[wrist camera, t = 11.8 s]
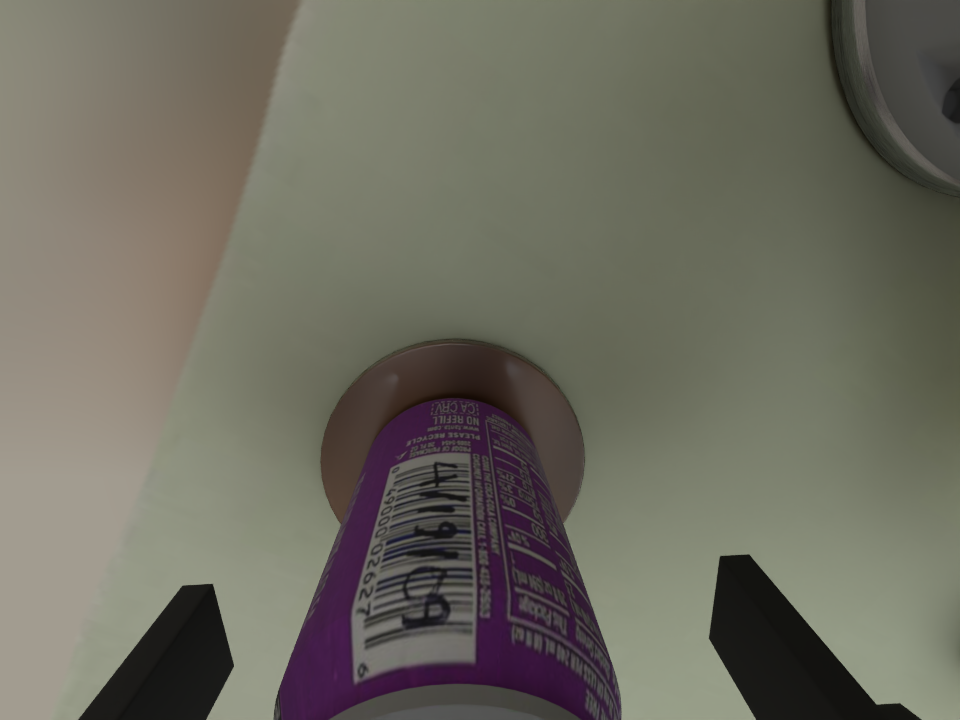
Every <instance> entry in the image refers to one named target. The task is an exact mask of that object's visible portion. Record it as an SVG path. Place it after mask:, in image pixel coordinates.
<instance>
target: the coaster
mask: <svg viewBox="0 0 960 720" xmlns="http://www.w3.org/2000/svg"><path fill="white" fill-rule="evenodd" d="M447 398H460V399H469V400H475V401H479V402H482V403H486V404H488V405H491V406H493V407H495V408H498V409H499V410H501V411H503V412H505V413H506V414H508V415H509V416H511V417H512V418H513V419H514V420H516V421H517V422H518V423H519V424H520V425H521V426H522V427H523V428H524V430H525V431H526V432H527V433H528V435H529V436H530V438H531V439H532V441H533V443H534V445H535V447H536V450H537V452H538V455H539V458H540V461H541V463H542V466H543V469H544V472H545V475H546V478H547V480H548V483H549V486H550V489H551V492H552V495H553V498H554V500H555V503H556V506H557V509H558V512H559V515H560V517H561V520H562V523H564V522H565V520H566V519H567V517H568V515H569V514H570V512H571V510H572V508H573V506H574V504H575V502H576V499H577V497H578V494H579V492H580V488H581V483H582V479H583V474H584V463H585V457H584V444H583V438H582V433H581V429H580V427H579V424H578V421H577V418H576V415H575V414H574V412H573V410H572V408H571V406H570V404H569V402H568V401H567V399H566V397H565V396H564V395H563V393H562V392H561V391H560V389H559V388H558V386H557V385H556V384H555V383H554V382H553V381H552V380H551V379H550V378H549V377H548V376H547V375H546V374H545V373H544V372H543V371H542V370H540V369H539V368H538V367H537V366H535V365H534V364H533V363H532V362H530V361H528V360H526V359H525V358H523V357H521V356H520V355H518V354H516V353H514V352H511V351H509V350H506V349H504V348H502V347H499V346H495V345H491V344H488V343H484V342H478V341H471V340H451V339H446V340H438V341H429V342H425V343H421V344H417V345H413V346H409V347H407V348H404V349H402V350H399V351H397V352H394V353H392V354H390V355H389V356H387V357H385V358H383V359H381V360H379V361H378V362H376V363H375V364H374V365H372V366H371V367H370V368H368V369H367V370H366V371H364V372H363V373H362V374H361V375H360V376H359V377H358V378H357V379H356V380H355V381H354V382H353V383H352V384H351V386H350V387H349V388H348V389H347V391H346V392H345V393H344V395H343V396H342V397H341V399H340V400H339V402H338V404H337V406H336V407H335V409H334V411H333V413H332V414H331V417H330V419H329V422H328V424H327V427H326V430H325V433H324V438H323V443H322V448H321V473H322V480H323V485H324V489H325V493H326V496H327V498H328V501H329V503H330V506H331V508H332V510H333V512H334V514H335V515H336V517H337V519H338V521H339V522H340V523H341V524H342V521H343V518H344V516H345V513H346V511H347V508H348V505H349V503H350V500H351V497H352V495H353V492H354V490H355V487H356V484H357V482H358V479H359V476H360V474H361V471H362V469H363V466H364V463H365V461H366V458H367V455H368V453H369V450H370V448H371V446H372V444H373V442H374V441H375V439H376V437H377V436H378V435H379V433H380V432H381V431H382V430H383V428H384V427H385V426H386V425H387V424H388V423H389V422H390V421H392V420H393V419H394V418H395V417H397V416H398V415H400V414H401V413H403V412H404V411H406V410H408V409H410V408H412V407H414V406H417V405H419V404H422V403H425V402H429V401H433V400H439V399H447Z"/></svg>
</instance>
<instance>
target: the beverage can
mask: <svg viewBox="0 0 960 720" xmlns="http://www.w3.org/2000/svg"><path fill="white" fill-rule="evenodd" d="M274 720H621V698H620V692H619V687H618V682H617V678H616V675H615V671H614V668H613V665H612V662H611V660H610V657H609V654H608V651H607V648H606V645H605V642H604V640H603V637H602V634H601V631H600V628H599V625H598V623H597V620H596V617H595V614H594V611H593V608H592V606H591V603H590V600H589V597H588V594H587V591H586V588H585V586H584V583H583V580H582V577H581V574H580V571H579V569H578V566H577V563H576V560H575V557H574V554H573V552H572V549H571V546H570V543H569V540H568V537H567V534H566V532H565V529H564V526H563V523H562V520H561V517H560V515H559V512H558V509H557V506H556V503H555V500H554V498H553V495H552V492H551V489H550V486H549V483H548V480H547V478H546V475H545V472H544V469H543V466H542V463H541V461H540V458H539V455H538V452H537V450H536V447H535V445H534V443H533V441H532V439H531V438H530V436H529V435H528V433H527V432H526V431H525V430H524V428H523V427H522V426H521V425H520V424H519V423H518V422H517V421H516V420H514V419H513V418H512V417H511V416H509V415H508V414H506V413H505V412H503V411H501V410H499V409H498V408H495V407H493V406H491V405H488V404H486V403H482V402H479V401H475V400H469V399H460V398H447V399H439V400H433V401H429V402H425V403H422V404H419V405H417V406H414V407H412V408H410V409H408V410H406V411H404V412H403V413H401V414H400V415H398V416H397V417H395V418H394V419H393V420H392V421H390V422H389V423H388V424H387V425H386V426H385V427H384V428H383V430H382V431H381V432H380V433H379V435H378V436H377V437H376V439H375V441H374V442H373V444H372V446H371V448H370V450H369V453H368V455H367V458H366V461H365V463H364V466H363V469H362V471H361V474H360V476H359V479H358V482H357V484H356V487H355V490H354V492H353V495H352V497H351V500H350V503H349V505H348V508H347V511H346V513H345V516H344V518H343V521H342V524H341V526H340V529H339V532H338V534H337V537H336V539H335V542H334V545H333V547H332V550H331V553H330V555H329V558H328V560H327V563H326V566H325V568H324V571H323V573H322V576H321V579H320V581H319V584H318V587H317V589H316V592H315V594H314V597H313V600H312V602H311V605H310V608H309V610H308V613H307V615H306V618H305V621H304V623H303V626H302V629H301V631H300V634H299V636H298V639H297V642H296V644H295V647H294V650H293V652H292V655H291V657H290V660H289V663H288V666H287V668H286V671H285V674H284V677H283V680H282V682H281V685H280V688H279V691H278V695H277V698H276V704H275V710H274Z"/></svg>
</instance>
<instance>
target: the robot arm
mask: <svg viewBox="0 0 960 720" xmlns="http://www.w3.org/2000/svg"><path fill="white" fill-rule="evenodd" d="M831 16H832V34H833V44H834V51H835V58H836V64H837V68H838V72H839V76H840V80H841V84H842V87H843V90H844V93H845V96H846V98H847V101H848V104H849V106H850V108H851V111H852V113H853V115H854V117H855V119H856V121H857V123H858V125H859V126H860V128H861V129H862V131H863V132H864V134H865V136H866V137H867V139H868V140H869V141H870V143H871V144H872V145H873V146H874V148H875V149H876V150H877V151H878V152H879V154H880V155H881V156H882V157H883V158H884V159H886V160H887V161H888V162H889V163H890V164H891V165H892V166H893V167H894V168H896V169H897V170H898V171H900V172H901V173H902V174H904V175H905V176H907V177H908V178H910V179H912V180H913V181H915V182H917V183H919V184H921V185H923V186H925V187H927V188H930V189H933V190H935V191H938V192H940V193H944V194H948V195H952V196H956V197H960V0H832V12H831ZM709 639H710V641H711V643H712V645H713V646H714V648H715V650H716V651H717V653H718V655H719V657H720V658H721V660H722V662H723V663H724V665H725V667H726V669H727V670H728V672H729V674H730V675H731V677H732V679H733V681H734V682H735V684H736V686H737V687H738V689H739V691H740V693H741V694H742V696H743V698H744V700H745V701H746V703H747V705H748V706H749V708H750V710H751V712H752V713H753V715H754V717H755V718H756V720H921V719H920V718H919V717H917V716H916V715H915V714H913V713H912V712H911V711H909V710H908V709H907V708H905V707H904V706H903V705H901V704H900V703H898V704H881V705H876V704H875V702H874V701H873V700H872V699H871V698H870V696H869V695H868V694H867V693H866V692H865V691H864V689H863V688H862V687H861V686H860V685H859V684H858V682H857V681H856V680H855V679H854V678H853V676H852V675H851V674H850V673H849V672H848V671H847V669H846V668H845V667H844V666H843V665H842V663H841V662H840V661H839V660H838V659H837V658H836V656H835V655H834V654H833V653H832V652H831V651H830V649H829V648H828V647H827V646H826V645H825V643H824V642H823V641H822V640H821V639H820V638H819V636H818V635H817V634H816V633H815V632H814V630H813V629H812V628H811V627H810V626H809V625H808V623H807V622H806V621H805V620H804V619H803V618H802V616H801V615H800V614H799V613H798V612H797V610H796V609H795V608H794V607H793V606H792V605H791V603H790V602H789V601H788V600H787V599H786V597H785V596H784V595H783V594H782V593H781V592H780V590H779V589H778V588H777V587H776V586H775V585H774V583H773V582H772V581H771V580H770V579H769V577H768V576H767V575H766V574H765V573H764V572H763V570H762V569H761V568H760V567H759V566H758V564H757V563H756V562H755V561H754V560H753V559H752V557H751V556H750V555H731V556H720V560H719V567H718V575H717V582H716V590H715V597H714V605H713V612H712V620H711V627H710V635H709ZM233 667H234V664H233V660H232V656H231V652H230V648H229V644H228V641H227V637H226V633H225V629H224V625H223V621H222V617H221V614H220V610H219V606H218V602H217V598H216V594H215V590H214V587H213V584H204V585H186V586H182V587H181V588H180V590H179V591H178V592H177V594H176V595H175V596H174V597H173V599H172V600H171V601H170V603H169V604H168V605H167V606H166V608H165V609H164V610H163V612H162V613H161V614H160V615H159V617H158V618H157V619H156V621H155V622H154V623H153V624H152V626H151V627H150V628H149V630H148V631H147V632H146V633H145V635H144V636H143V637H142V639H141V640H140V641H139V642H138V644H137V645H136V646H135V648H134V649H133V650H132V651H131V653H130V654H129V655H128V657H127V658H126V659H125V660H124V662H123V663H122V664H121V666H120V667H119V668H118V669H117V671H116V672H115V673H114V675H113V676H112V677H111V678H110V680H109V681H108V682H107V684H106V685H105V686H104V687H103V689H102V690H101V691H100V693H99V694H98V695H97V696H96V698H95V699H94V700H93V701H92V703H91V704H90V705H89V707H88V708H87V709H86V710H85V712H84V713H83V714H82V716H81V717H80V718H79V719H78V720H206V719H207V717H208V715H209V713H210V711H211V709H212V707H213V705H214V703H215V701H216V700H217V698H218V696H219V694H220V692H221V690H222V688H223V686H224V684H225V682H226V680H227V679H228V677H229V675H230V673H231V671H232V669H233Z"/></svg>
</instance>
